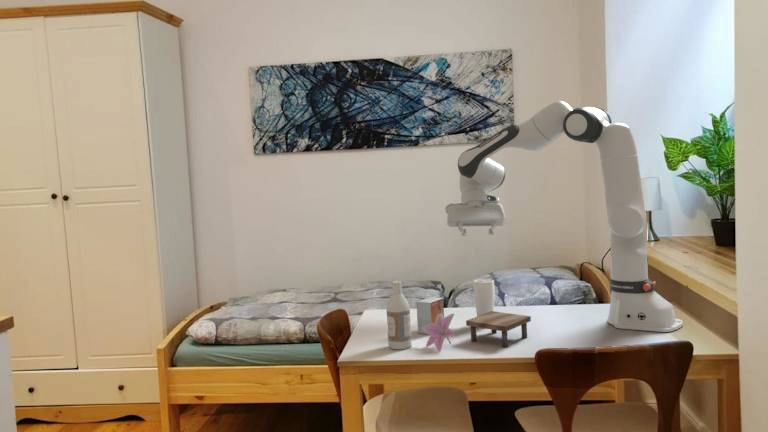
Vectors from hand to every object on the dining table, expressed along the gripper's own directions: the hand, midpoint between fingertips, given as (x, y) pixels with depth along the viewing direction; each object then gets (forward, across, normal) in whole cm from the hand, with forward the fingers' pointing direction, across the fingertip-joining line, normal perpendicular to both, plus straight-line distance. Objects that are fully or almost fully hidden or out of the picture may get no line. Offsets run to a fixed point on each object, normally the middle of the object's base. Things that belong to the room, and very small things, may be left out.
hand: (477, 234), depth 231 cm
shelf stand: (+41, +2, -1) cm, 41 cm away
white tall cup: (+29, +1, +12) cm, 31 cm away
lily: (+44, -16, -4) cm, 47 cm away
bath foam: (+44, -28, -2) cm, 52 cm away
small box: (+32, -17, +10) cm, 38 cm away
